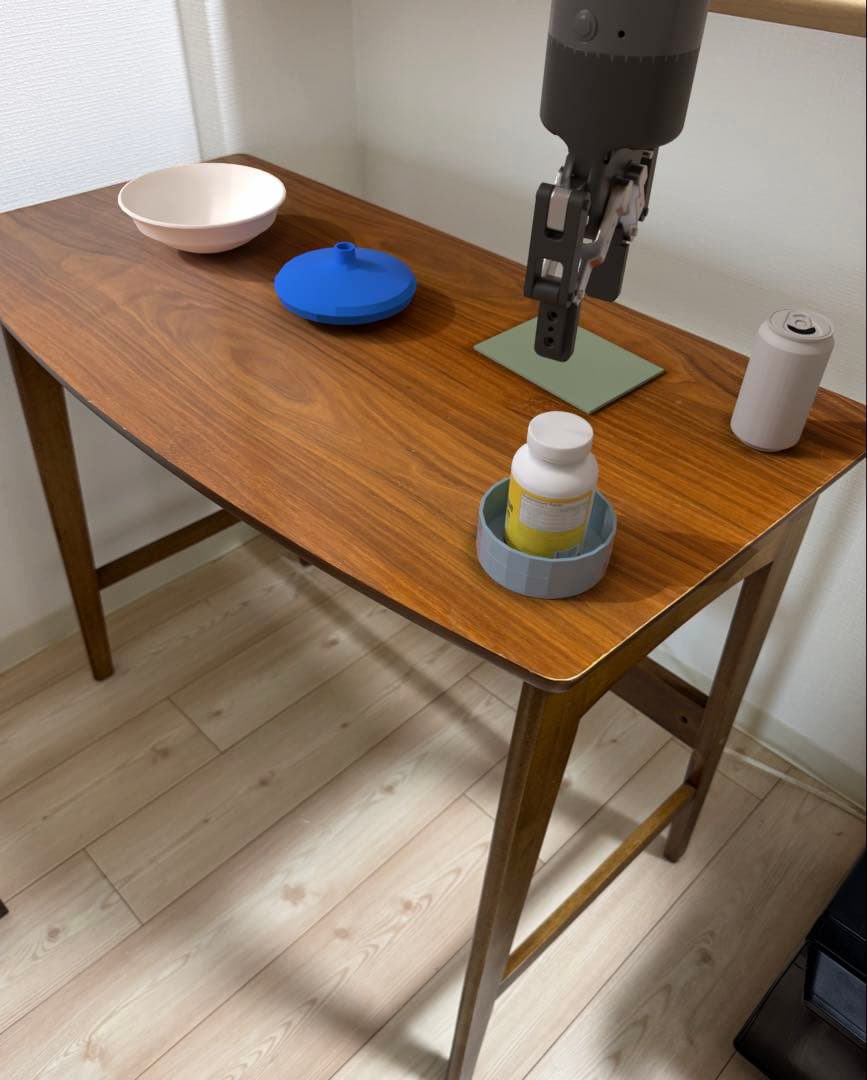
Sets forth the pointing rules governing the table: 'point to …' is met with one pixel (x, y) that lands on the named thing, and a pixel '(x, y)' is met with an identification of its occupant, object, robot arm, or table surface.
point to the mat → (572, 366)
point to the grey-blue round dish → (540, 572)
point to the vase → (345, 285)
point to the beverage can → (782, 378)
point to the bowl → (203, 205)
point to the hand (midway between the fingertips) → (578, 325)
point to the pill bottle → (552, 488)
